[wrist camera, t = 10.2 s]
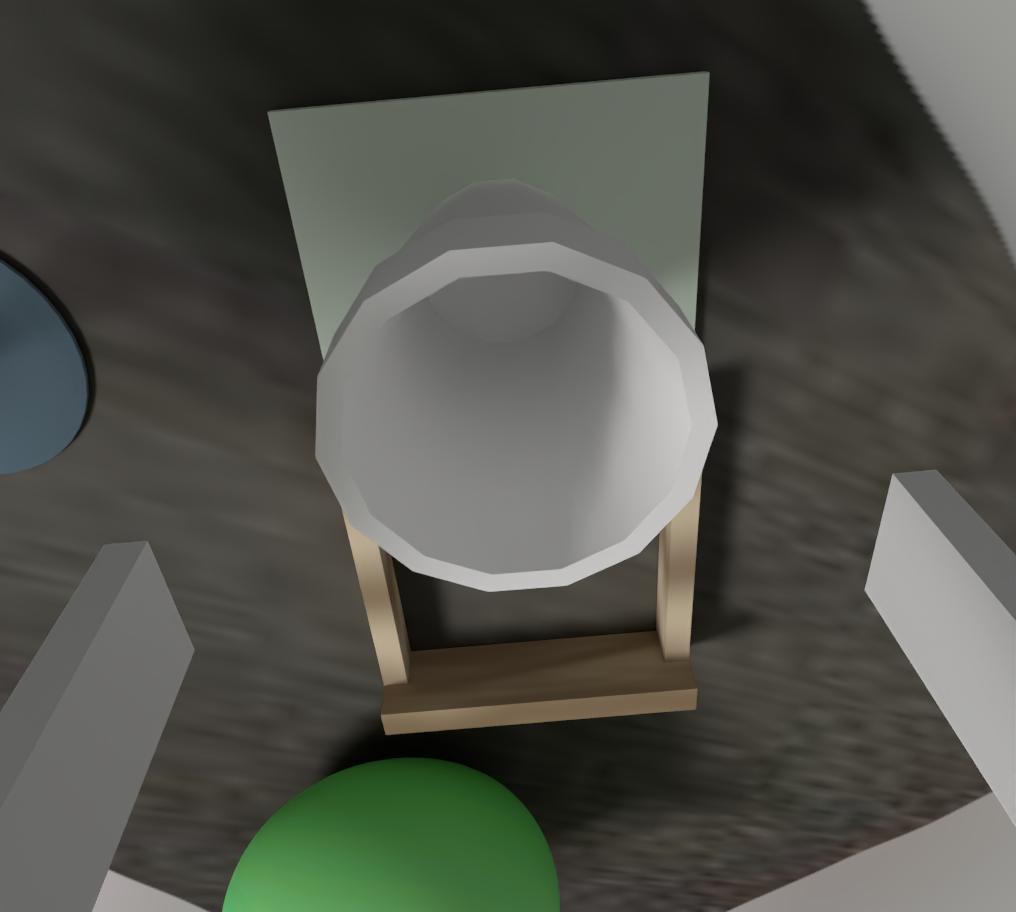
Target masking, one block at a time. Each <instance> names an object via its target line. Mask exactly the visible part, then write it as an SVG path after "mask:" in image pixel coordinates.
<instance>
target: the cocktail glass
mask: <svg viewBox="0 0 1016 912" xmlns="http://www.w3.org/2000/svg"><path fill="white" fill-rule="evenodd" d="M88 398H89V384H88V374H87V370H86V366H85V362H84V358H83V355H82V352H81V350H80V348H79V346H78V343H77V341H76V339H75V337H74V334H73V333H72V331H71V330H70V328H69V326H68V325H67V323H66V322H65V320H64V319H63V317H62V315H61V314H60V313H59V311H58V310H57V309H56V308H55V307H54V306H53V304H52V303H51V302H50V301H49V300H48V298H47V297H46V296H45V295H44V294H43V293H42V292H41V291H40V290H39V289H38V288H37V287H36V286H35V285H34V284H32V283H31V282H30V281H29V280H28V279H27V278H26V277H25V276H24V275H22V274H21V273H19V272H18V271H17V270H15V269H14V268H13V267H11V266H10V265H9V264H7V263H6V262H5V261H3V260H1V259H0V474H9V473H14V472H18V471H23V470H27V469H30V468H33V467H35V466H38V465H40V464H42V463H45V462H47V461H48V460H50V459H51V458H53V457H54V456H56V455H58V454H59V453H61V452H62V451H63V450H64V449H65V447H66V446H67V445H68V444H69V443H70V442H71V441H72V440H73V438H74V437H75V435H76V434H77V432H78V430H79V429H80V427H81V426H82V423H83V420H84V417H85V414H86V412H87V406H88Z"/></svg>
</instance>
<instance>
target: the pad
mask: <svg viewBox="0 0 1016 912" xmlns="http://www.w3.org/2000/svg"><path fill="white" fill-rule="evenodd" d="M709 75H710V73H709V72H707V71H702V72H691V73H680V74H669V75H658V76H647V77H635V78H624V79H613V80H602V81H591V82H580V83H569V84H557V85H546V86H535V87H524V88H513V89H502V90H491V91H480V92H468V93H457V94H446V95H435V96H424V97H413V98H402V99H390V100H379V101H368V102H357V103H346V104H335V105H324V106H313V107H301V108H290V109H279V110H270V111H269V112H267V113H268V117H269V122H270V126H271V130H272V135H273V139H274V144H275V148H276V153H277V157H278V161H279V166H280V170H281V175H282V179H283V184H284V188H285V192H286V197H287V201H288V206H289V210H290V214H291V219H292V223H293V228H294V232H295V237H296V241H297V245H298V250H299V254H300V259H301V263H302V268H303V272H304V276H305V281H306V285H307V290H308V294H309V298H310V303H311V307H312V312H313V316H314V321H315V325H316V329H317V334H318V338H319V343H320V347H321V352H322V356H323V360H324V359H325V356H326V354H327V351H328V349H329V346H330V343H331V341H332V338H333V336H334V334H335V332H336V331H337V329H338V327H339V326H340V324H341V322H342V321H343V319H344V317H345V316H346V314H347V312H348V311H349V309H350V307H351V306H352V304H353V302H354V301H355V299H356V298H357V296H358V294H359V293H360V291H361V289H362V288H363V286H364V284H365V283H366V281H367V279H368V278H369V276H370V274H371V273H372V271H373V269H374V268H375V266H376V265H377V264H379V263H381V262H382V261H384V260H386V259H387V258H389V257H391V256H392V255H394V254H396V253H397V252H399V251H400V249H401V248H402V247H403V246H404V245H405V243H406V242H407V241H408V240H409V239H410V237H411V236H412V235H413V234H414V233H415V231H416V230H417V229H418V228H419V227H420V225H421V224H422V223H423V222H424V221H425V219H426V218H427V217H428V216H429V215H430V214H431V212H432V211H433V210H434V209H435V208H436V206H437V205H438V204H440V202H441V201H443V200H445V199H446V198H448V197H450V196H451V195H453V194H455V193H456V192H458V191H459V190H461V189H463V188H464V187H466V186H468V185H469V184H471V183H473V182H474V181H486V180H498V179H511V178H514V179H517V180H519V181H522V182H524V183H527V184H529V185H531V186H534V187H536V188H539V189H541V190H544V191H546V192H549V193H550V194H552V195H554V196H555V197H556V198H557V199H558V200H560V201H561V202H562V203H563V204H565V205H566V206H567V207H568V208H569V209H571V210H572V211H573V212H574V213H575V214H577V215H578V216H579V217H580V218H582V219H583V220H584V221H585V222H586V223H588V224H589V225H590V226H591V227H592V228H594V229H595V230H596V231H597V232H598V233H600V234H601V235H604V236H606V237H609V238H611V239H614V240H616V241H619V242H621V243H624V244H626V245H628V247H629V248H630V249H631V250H632V251H633V252H634V254H635V255H636V256H637V257H638V258H639V260H640V261H641V262H642V263H643V264H644V265H645V267H646V268H647V269H648V270H649V271H650V272H651V274H652V275H653V276H654V277H655V278H656V280H657V281H658V282H659V283H660V284H661V285H662V287H663V288H664V289H665V290H666V291H667V293H668V294H669V295H670V296H671V297H672V298H673V300H674V301H675V302H676V303H677V304H678V306H679V307H680V308H681V310H682V312H683V313H684V315H685V316H686V318H687V320H688V321H689V323H690V324H691V326H692V328H693V329H694V331H695V317H696V300H697V282H698V265H699V248H700V231H701V213H702V196H703V179H704V161H705V144H706V127H707V109H708V92H709Z"/></svg>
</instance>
